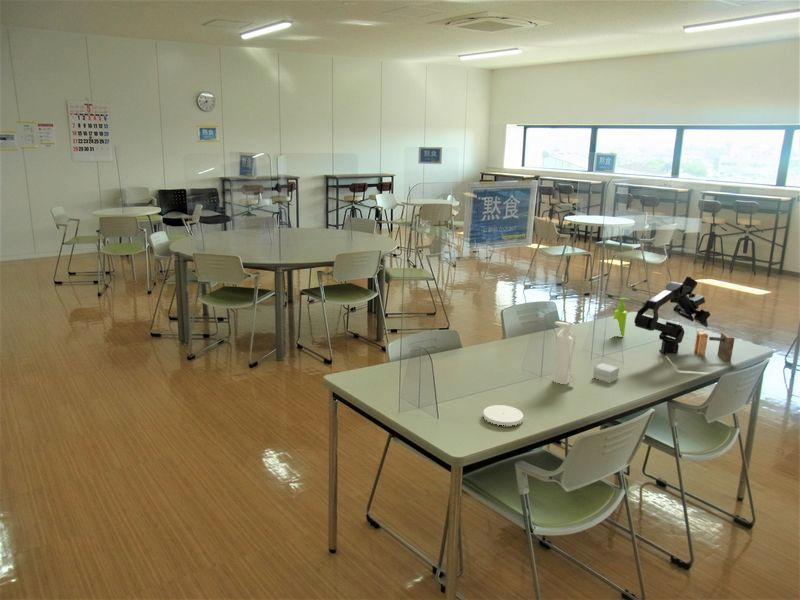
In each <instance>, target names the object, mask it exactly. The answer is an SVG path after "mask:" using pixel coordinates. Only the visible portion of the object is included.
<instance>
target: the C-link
mask: <svg viewBox="0 0 800 600" xmlns="http://www.w3.org/2000/svg"><path fill="white" fill-rule="evenodd" d="M708 338H709V334H708V333H706V332H705V331H704V330H697V331H696V335H695V342H694V343H695V344H694V350H693V352H695V353H696V354H697V356H701V357H702V356H703V357H705V356H706V352H707V351H706V350H707V343H708V340H709V339H708Z"/></svg>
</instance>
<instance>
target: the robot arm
mask: <svg viewBox="0 0 800 600" xmlns="http://www.w3.org/2000/svg"><path fill="white" fill-rule="evenodd" d="M697 286H698V282H697V281H696V280H695V279H693V278H692V277H691V276H689V275H688V276H686V277H685V278H684V280H683V282H682V283H681V282H677V281H670V282H669V283H667V284H666V286H665V289H664V290H662V291H661V292H660V293H658V294H657V295H655V296H653V297H652V298H651V299H648V300H646V301H645V304H644V305H643V306H642V307H641V308H640V309H639V310H638V311H637V313H636V315H635V317H634V326H635V327H637V328H640V329H642V330H647V331H650V332H651V331H657V332H660V334H659V340H661V345H660V346H661V347H660V349H659V352H660V353H661V354H662V355H663V356H667V354H670V355H673V354H677V353H679V347H680V345H679V344H681V343H682V341H683V338H684V335H685V330H684V327H683V325H681V324H677V323H674V322H669V321H665V324H664V323H661V322H658V320H659V309H660V307H662V306H663V305H665V304H666V303H667V302H670V303H671V304H672V303H673V304H674V303H675V304H676V305H675V306H673V310H672V311H673V312H674V313H675V314H677V315H678V316H681V317H682V318H684V319H687V320H689V321H691V322H694V321H695V323H698V324H700V325H702V326H703V327H705V328H707V327H708V326H709V325H708V320H707V319H709V317H710V316H711V312H710V311H709V310H706V309H704V308H703V309H700V310H698V309H699V308H700V307H699V306H701V305H703V304H705V303H706V300H705V296H704V295H702V294H698V293H693V292H694V290H695V288H696V287H697ZM649 310H652V311H653V316H652V317H651V316H646V315H644V314H645V313H646V312H647V311H649ZM693 315H694V316H693Z"/></svg>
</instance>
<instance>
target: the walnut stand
mask: <svg viewBox="0 0 800 600" xmlns="http://www.w3.org/2000/svg"><path fill="white" fill-rule="evenodd" d="M708 338H709V339H708V340H709V341H712V342H713V341H716V342H719V344H718V350H717V356H718V357H719V358H720V359H721V360H722V361H723V362H731V361H732V356H733V350H734V346H735V345H734V344H735V339H736V338H735V337H734V336H733V335H731V334H730V333H729V332H720V337H719V336H708Z"/></svg>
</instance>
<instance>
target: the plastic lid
mask: <svg viewBox="0 0 800 600" xmlns="http://www.w3.org/2000/svg"><path fill="white" fill-rule="evenodd" d="M482 417H484V418H483V419H484V420H485V421H486V420H487V421H486V422H487V423H489V422H491V423H490V424H492V423H493V424H492V425H495V424H497V425H496V426H499V425H502V426H501V427H513V426H512V425H515V426H518V425H520V424H522V423H523V422H524V413H523V411H521V410H520V409H518V408H515V407H513V406H511V405H510V406H509V405H504V404H503V405H501V404H495V405H494V404H493V405H490V406H487V407H486V408H484V409H483V413H482ZM521 422H522V423H521ZM519 423H520V424H519ZM517 424H518V425H517ZM503 425H504V426H503ZM505 425H506V426H505Z"/></svg>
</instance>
